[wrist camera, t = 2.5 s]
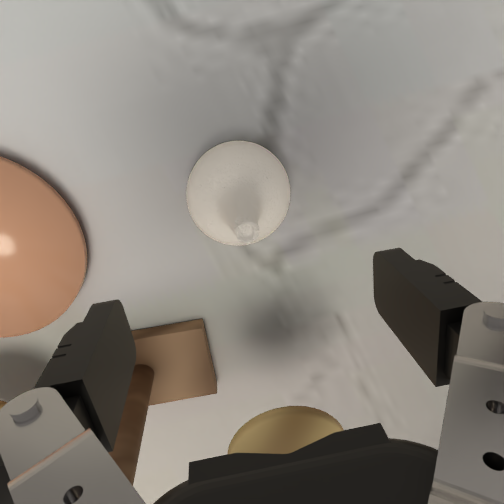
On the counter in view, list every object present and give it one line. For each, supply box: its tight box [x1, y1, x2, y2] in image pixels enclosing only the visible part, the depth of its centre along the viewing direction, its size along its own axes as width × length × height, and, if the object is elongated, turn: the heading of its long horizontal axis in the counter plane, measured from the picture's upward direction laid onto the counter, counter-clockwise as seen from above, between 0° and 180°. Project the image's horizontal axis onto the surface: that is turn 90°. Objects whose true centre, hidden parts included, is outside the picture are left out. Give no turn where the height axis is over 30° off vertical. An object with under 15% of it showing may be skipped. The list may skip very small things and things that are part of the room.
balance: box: [0, 319, 344, 486], centre depth 20 cm, size 25×6×20 cm, turn 98°
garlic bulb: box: [186, 141, 291, 246], centre depth 21 cm, size 6×6×8 cm
